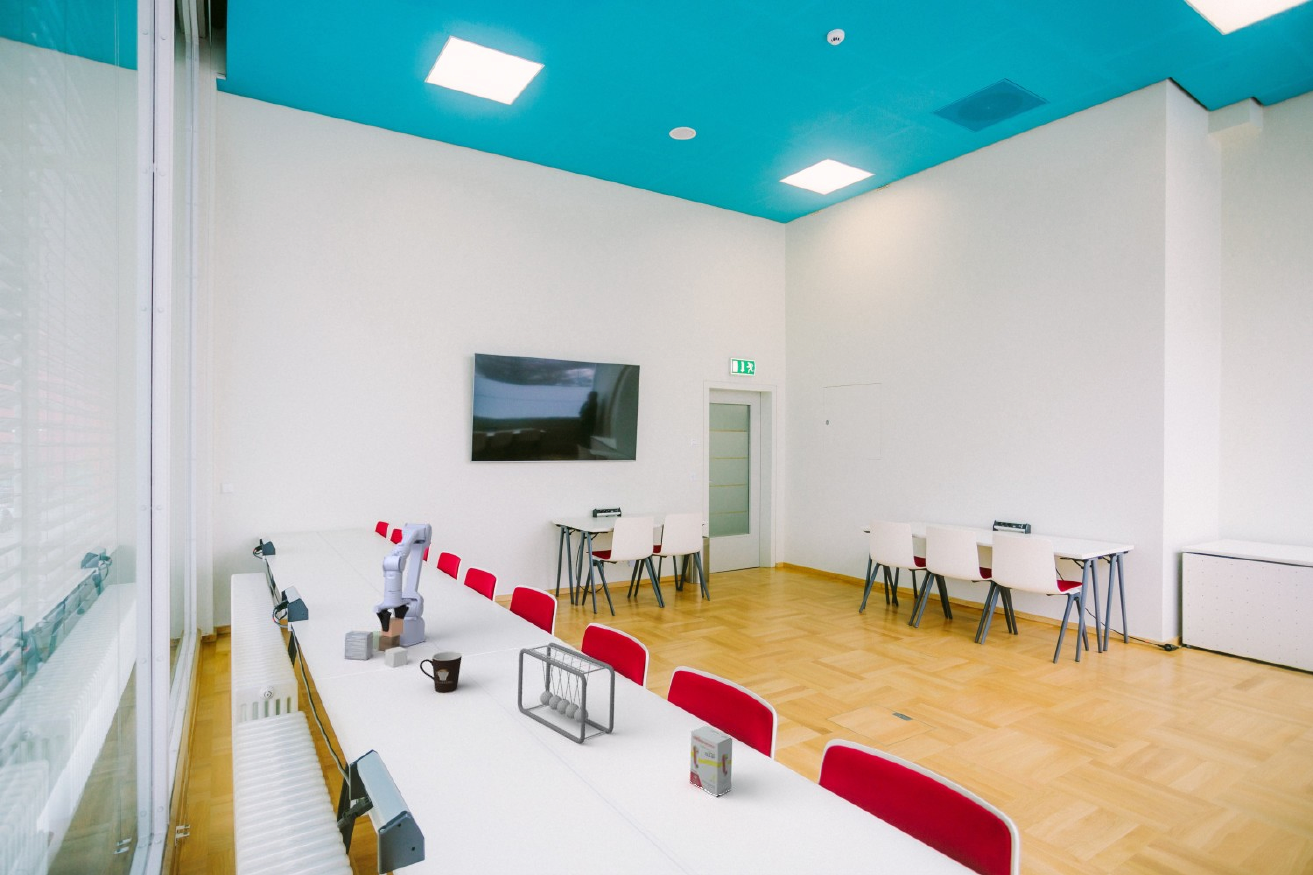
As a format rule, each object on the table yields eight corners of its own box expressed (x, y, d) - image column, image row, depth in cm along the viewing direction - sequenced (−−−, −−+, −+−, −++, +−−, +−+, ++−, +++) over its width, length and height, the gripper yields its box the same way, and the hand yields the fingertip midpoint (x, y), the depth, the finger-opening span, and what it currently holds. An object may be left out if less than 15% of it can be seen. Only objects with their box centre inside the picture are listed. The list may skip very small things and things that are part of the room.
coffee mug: (466, 687, 208) (467, 654, 208) (447, 696, 200) (448, 662, 200) (437, 680, 213) (438, 648, 213) (417, 689, 205) (418, 655, 205)
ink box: (688, 782, 152) (689, 729, 152) (704, 776, 156) (705, 724, 156) (716, 798, 146) (717, 742, 146) (731, 790, 149) (733, 736, 149)
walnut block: (387, 647, 246) (387, 633, 246) (399, 648, 245) (400, 634, 245) (378, 651, 241) (379, 636, 241) (391, 652, 240) (391, 638, 240)
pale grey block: (398, 661, 230) (399, 646, 230) (407, 664, 227) (407, 649, 227) (385, 664, 226) (385, 649, 227) (393, 668, 223) (393, 652, 223)
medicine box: (372, 656, 234) (373, 631, 235) (366, 660, 230) (366, 634, 230) (351, 655, 235) (352, 630, 235) (344, 659, 231) (344, 633, 231)
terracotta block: (392, 631, 238) (393, 617, 238) (402, 633, 236) (403, 619, 236) (381, 634, 234) (381, 620, 234) (391, 637, 231) (391, 622, 232)
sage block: (373, 644, 248) (373, 631, 248) (387, 645, 248) (387, 631, 248) (367, 648, 243) (368, 634, 243) (382, 649, 243) (382, 635, 243)
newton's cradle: (516, 710, 191) (518, 647, 191) (547, 701, 198) (549, 640, 198) (582, 746, 169) (584, 675, 169) (614, 735, 176) (616, 666, 177)
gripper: (401, 585, 243) (400, 623, 243) (367, 592, 230) (366, 632, 230) (415, 587, 240) (414, 625, 240) (382, 594, 227) (381, 635, 227)
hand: (392, 629), depth 235 cm, fingers closed on terracotta block, 5 cm apart
